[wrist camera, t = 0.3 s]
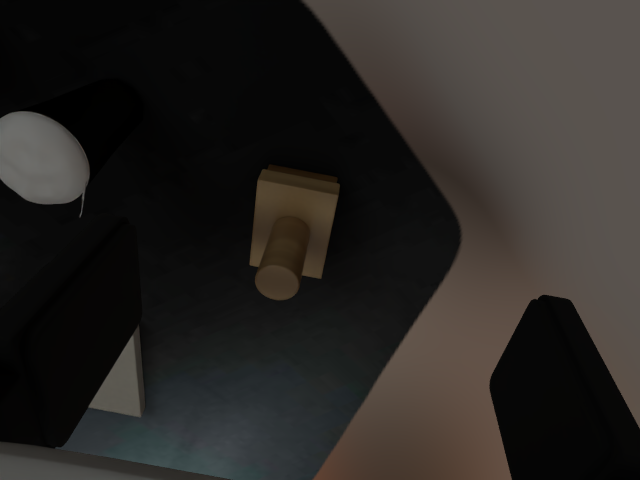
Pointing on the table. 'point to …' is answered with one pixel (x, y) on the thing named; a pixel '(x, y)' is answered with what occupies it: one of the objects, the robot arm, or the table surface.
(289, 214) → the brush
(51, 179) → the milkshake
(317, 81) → the table surface
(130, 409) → the tile
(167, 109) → the table surface
